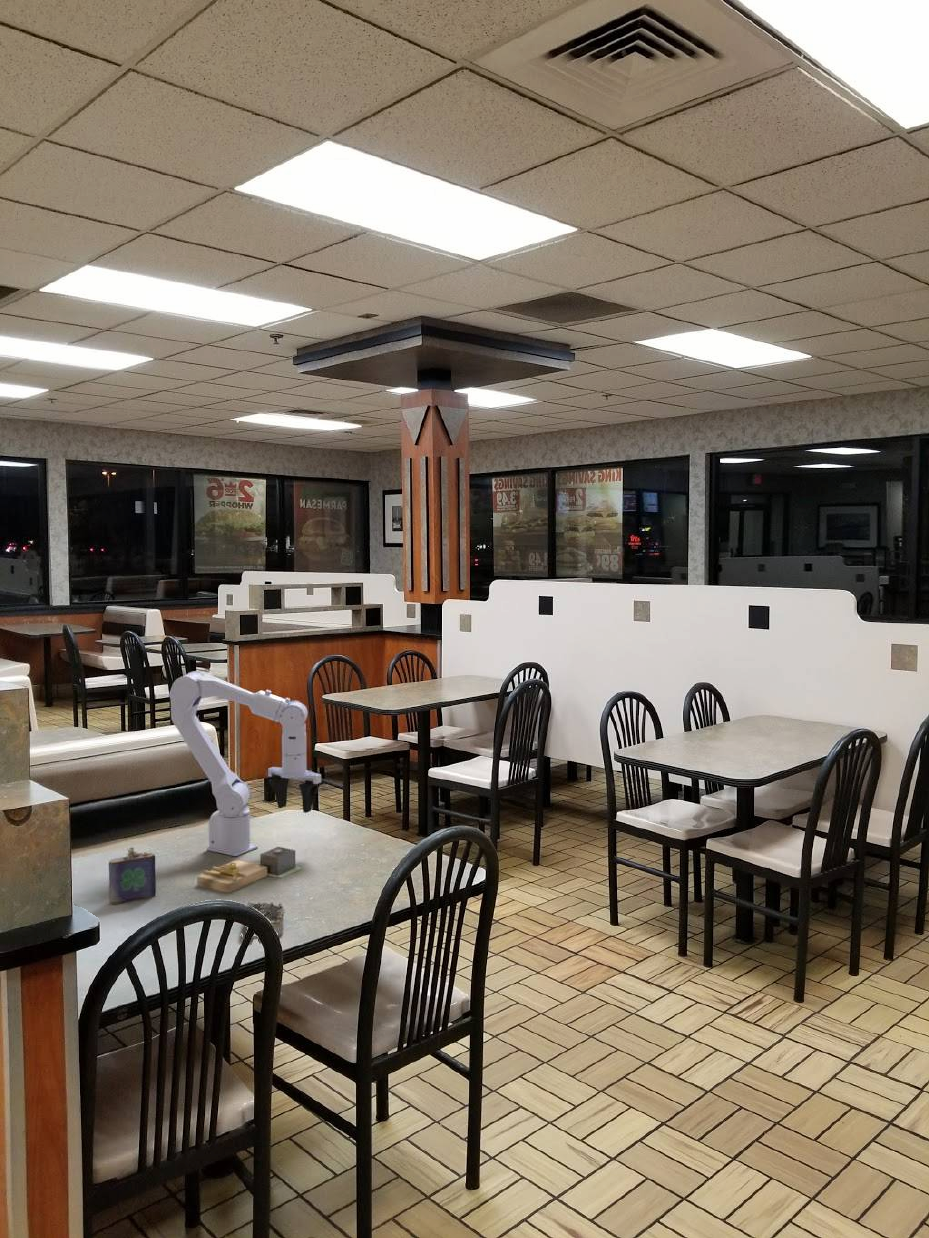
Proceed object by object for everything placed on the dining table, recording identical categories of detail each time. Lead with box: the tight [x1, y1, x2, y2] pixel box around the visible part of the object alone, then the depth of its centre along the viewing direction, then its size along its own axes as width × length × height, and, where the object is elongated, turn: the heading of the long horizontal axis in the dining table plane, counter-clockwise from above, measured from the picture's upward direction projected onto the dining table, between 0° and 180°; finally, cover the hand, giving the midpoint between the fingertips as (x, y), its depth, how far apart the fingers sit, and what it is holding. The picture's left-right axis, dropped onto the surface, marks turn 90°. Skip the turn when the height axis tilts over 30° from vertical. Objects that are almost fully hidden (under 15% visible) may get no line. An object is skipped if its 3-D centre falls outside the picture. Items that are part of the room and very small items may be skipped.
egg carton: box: [246, 901, 286, 940], centre depth 181 cm, size 11×8×4 cm
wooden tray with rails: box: [196, 859, 268, 894], centre depth 205 cm, size 9×12×3 cm
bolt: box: [219, 863, 239, 878], centre depth 202 cm, size 4×2×3 cm, turn 60°
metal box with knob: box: [259, 846, 296, 876], centre depth 211 cm, size 5×6×4 cm
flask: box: [108, 847, 157, 906], centre depth 194 cm, size 9×3×11 cm, turn 121°
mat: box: [267, 865, 303, 879], centre depth 212 cm, size 7×7×1 cm
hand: (294, 809), depth 225 cm, fingers open, 7 cm apart
